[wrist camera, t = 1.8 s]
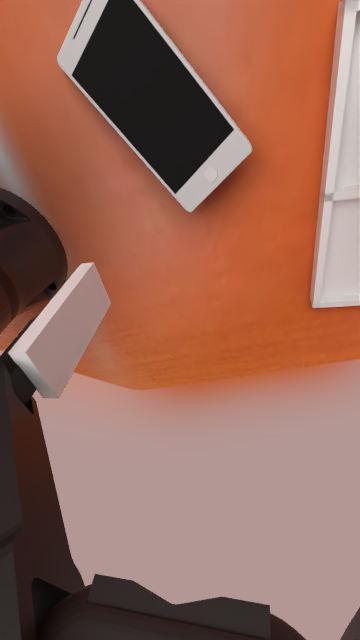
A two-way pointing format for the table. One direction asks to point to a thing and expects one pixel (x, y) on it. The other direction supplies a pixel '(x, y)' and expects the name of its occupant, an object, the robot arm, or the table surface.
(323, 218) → the dock
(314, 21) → the table surface
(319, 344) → the table surface
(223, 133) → the smartphone
